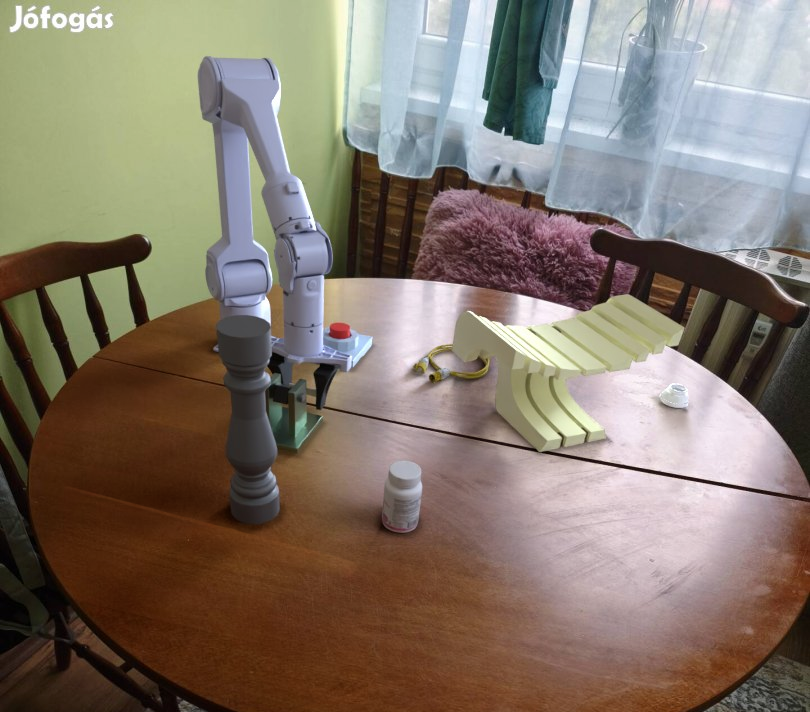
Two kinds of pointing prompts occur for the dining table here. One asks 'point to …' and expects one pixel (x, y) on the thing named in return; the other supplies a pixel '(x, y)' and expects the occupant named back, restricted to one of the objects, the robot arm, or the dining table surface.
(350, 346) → the button box
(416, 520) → the pill bottle
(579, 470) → the dining table surface
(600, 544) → the dining table surface
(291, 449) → the switch bracket
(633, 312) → the slatted curved stool
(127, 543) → the dining table surface
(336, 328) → the button
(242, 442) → the candle holder
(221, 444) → the dining table surface
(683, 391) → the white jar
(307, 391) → the switch lever
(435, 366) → the extension cord
